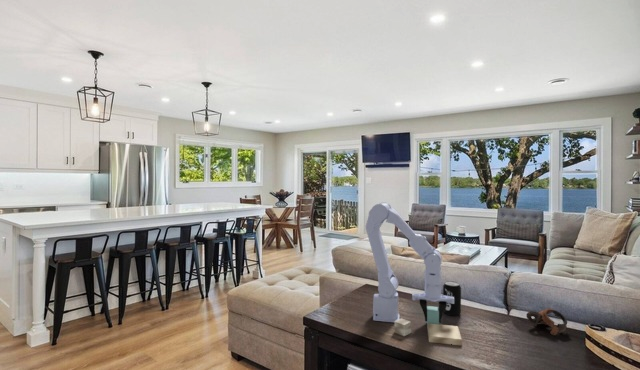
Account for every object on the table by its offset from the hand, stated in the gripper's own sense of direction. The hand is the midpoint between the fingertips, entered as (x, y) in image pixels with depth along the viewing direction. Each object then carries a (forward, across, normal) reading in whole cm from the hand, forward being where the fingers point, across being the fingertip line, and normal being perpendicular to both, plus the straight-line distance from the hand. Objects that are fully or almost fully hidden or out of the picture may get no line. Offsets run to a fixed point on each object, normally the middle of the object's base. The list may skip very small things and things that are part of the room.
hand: (432, 320), depth 125 cm
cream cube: (+2, -10, -9) cm, 14 cm away
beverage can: (+2, +8, +13) cm, 15 cm away
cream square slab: (+1, +3, -9) cm, 10 cm away
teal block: (+1, 0, 0) cm, 1 cm away
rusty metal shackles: (+2, +38, +6) cm, 39 cm away
